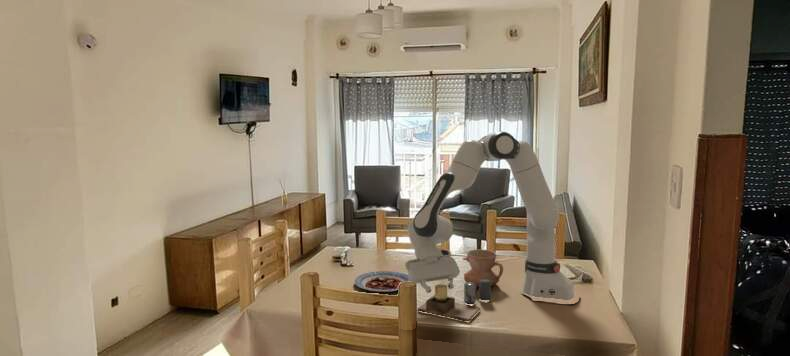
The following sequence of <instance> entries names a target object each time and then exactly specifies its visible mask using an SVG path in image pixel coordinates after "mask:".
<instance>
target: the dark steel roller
mask: <svg viewBox="0 0 790 356" xmlns="http://www.w3.org/2000/svg"><path fill="white" fill-rule="evenodd" d="M463 288H464V289H463V290H464V291H463V296H464V297H463V303H464V302H465V303H467V304H474V303H475V302H476V303H477V301H476V298H477V296H476V295H477V294H476V293H477V292H476V291H477V287H476V284H475V283H473V282H466V281H465V283H464V286H463Z"/></svg>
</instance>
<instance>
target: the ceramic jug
mask: <svg viewBox="0 0 790 356" xmlns="http://www.w3.org/2000/svg"><path fill="white" fill-rule="evenodd" d="M466 255H467V256H463V258H462V260H463V261H467V262H468V263H469V266H470V268H471V269H469V270H468V271H466V272H465V273H463V279H464V281H465V283H466V282H473V283H475V284H476V288H479V284H480V280H483V279H486V280H490V281H491V287H493V286H496V285H497V284H498V283H499V282H500V278H501V277H502V275H503V273H504V265H503V263H501V262H499V261H496V257H497V253H496V252H495V251H492V250H490V249H471V250H469V251H467V254H466ZM495 266H498V268H499V272H498V274H496V272H494V271H493V270H492V269H493V268H494V267H495Z"/></svg>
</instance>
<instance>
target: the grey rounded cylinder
mask: <svg viewBox="0 0 790 356" xmlns="http://www.w3.org/2000/svg"><path fill="white" fill-rule="evenodd" d="M478 288H479V289H478V292H479V293H478V298H479V299H481V300H490V299H491V297H492V296H491V295H492V294H491V293H492V286H491V281H490V280H486V279H483V280H480V284H479V287H478ZM479 299H478V300H479Z"/></svg>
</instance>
